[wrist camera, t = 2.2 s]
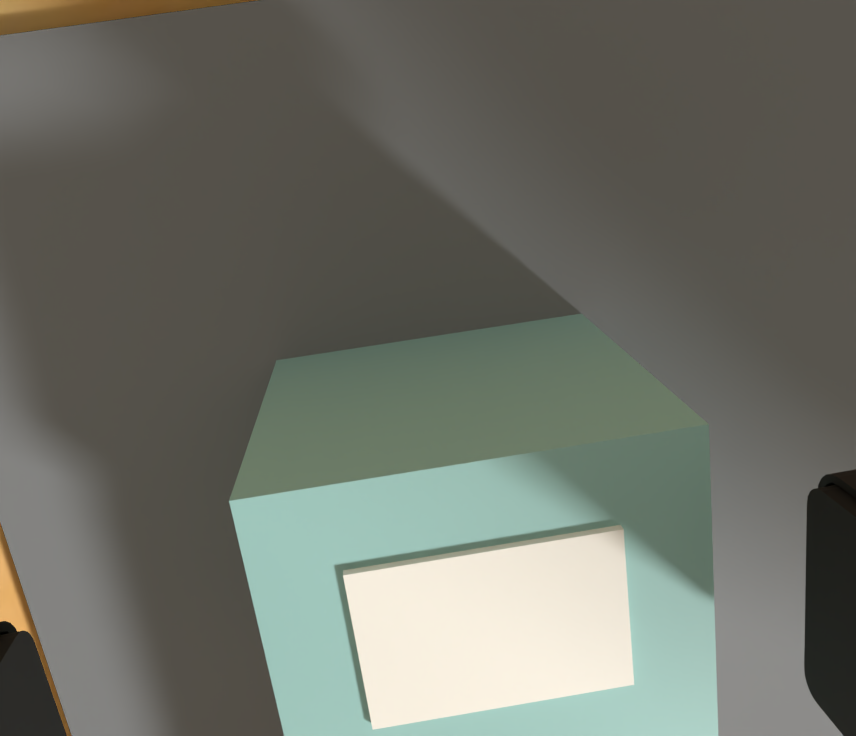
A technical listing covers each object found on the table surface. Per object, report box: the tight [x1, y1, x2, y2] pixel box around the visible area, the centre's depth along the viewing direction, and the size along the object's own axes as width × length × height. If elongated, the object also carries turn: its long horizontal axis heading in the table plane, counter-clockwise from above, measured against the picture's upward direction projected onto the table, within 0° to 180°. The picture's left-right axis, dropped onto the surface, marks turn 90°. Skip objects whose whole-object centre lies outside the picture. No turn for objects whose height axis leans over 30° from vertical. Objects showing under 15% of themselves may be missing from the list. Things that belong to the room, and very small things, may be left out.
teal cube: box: [229, 314, 718, 736], centre depth 14 cm, size 6×5×6 cm
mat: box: [0, 0, 856, 736], centre depth 17 cm, size 20×22×1 cm
